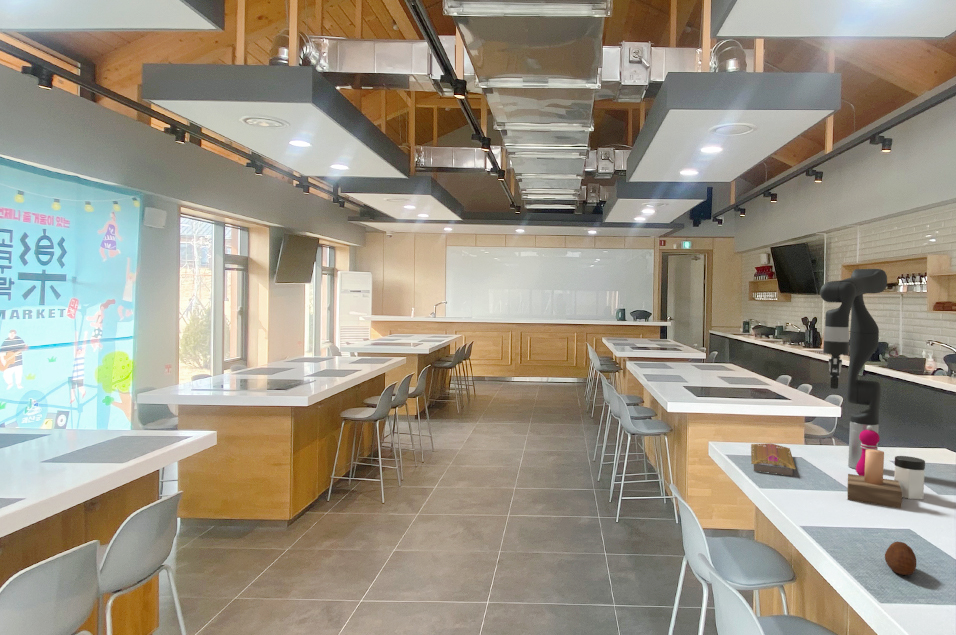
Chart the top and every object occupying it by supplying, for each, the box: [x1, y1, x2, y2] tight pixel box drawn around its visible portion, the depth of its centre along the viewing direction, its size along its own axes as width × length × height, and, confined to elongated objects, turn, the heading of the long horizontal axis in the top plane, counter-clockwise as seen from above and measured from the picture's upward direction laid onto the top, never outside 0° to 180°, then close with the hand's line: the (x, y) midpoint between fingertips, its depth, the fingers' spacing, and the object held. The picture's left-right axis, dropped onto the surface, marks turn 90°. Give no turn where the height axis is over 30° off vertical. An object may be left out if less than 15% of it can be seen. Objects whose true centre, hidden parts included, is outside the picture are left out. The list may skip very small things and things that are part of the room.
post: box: [864, 449, 885, 485], centre depth 198 cm, size 5×5×10 cm
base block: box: [846, 473, 903, 509], centre depth 198 cm, size 14×14×5 cm
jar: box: [893, 455, 926, 500], centre depth 202 cm, size 9×8×12 cm
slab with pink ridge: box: [750, 442, 796, 477], centre depth 239 cm, size 35×14×6 cm, turn 156°
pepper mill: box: [855, 426, 881, 476], centre depth 215 cm, size 7×7×20 cm
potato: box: [884, 541, 917, 576], centre depth 143 cm, size 6×12×6 cm, turn 158°
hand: (834, 387), depth 214 cm, fingers open, 8 cm apart
